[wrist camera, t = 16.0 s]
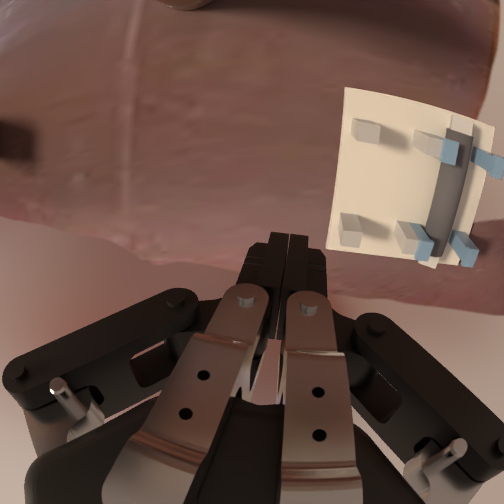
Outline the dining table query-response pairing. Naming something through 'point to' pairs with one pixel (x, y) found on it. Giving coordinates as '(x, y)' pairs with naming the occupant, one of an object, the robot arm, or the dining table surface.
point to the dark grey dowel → (448, 189)
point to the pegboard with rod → (402, 178)
